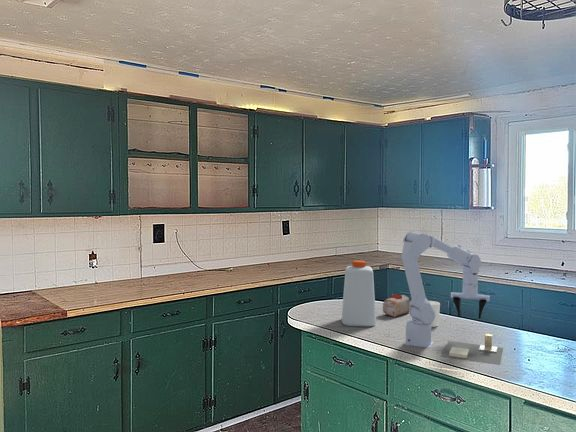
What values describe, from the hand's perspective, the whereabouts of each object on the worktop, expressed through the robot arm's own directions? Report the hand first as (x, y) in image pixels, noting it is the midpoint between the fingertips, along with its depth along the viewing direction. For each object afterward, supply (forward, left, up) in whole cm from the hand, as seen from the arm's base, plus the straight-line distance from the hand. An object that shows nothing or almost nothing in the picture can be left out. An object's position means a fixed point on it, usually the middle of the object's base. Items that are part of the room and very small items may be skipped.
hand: (469, 317), depth 203 cm
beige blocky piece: (+8, -11, -9) cm, 16 cm away
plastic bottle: (-48, +6, -10) cm, 49 cm away
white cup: (-18, +16, -10) cm, 26 cm away
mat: (+3, -16, -9) cm, 19 cm away
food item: (-36, +28, -10) cm, 47 cm away
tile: (-1, -18, -8) cm, 20 cm away
